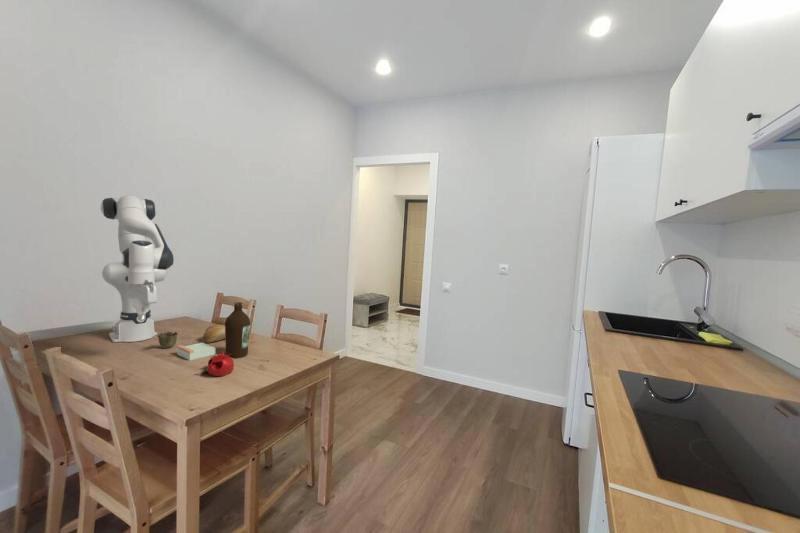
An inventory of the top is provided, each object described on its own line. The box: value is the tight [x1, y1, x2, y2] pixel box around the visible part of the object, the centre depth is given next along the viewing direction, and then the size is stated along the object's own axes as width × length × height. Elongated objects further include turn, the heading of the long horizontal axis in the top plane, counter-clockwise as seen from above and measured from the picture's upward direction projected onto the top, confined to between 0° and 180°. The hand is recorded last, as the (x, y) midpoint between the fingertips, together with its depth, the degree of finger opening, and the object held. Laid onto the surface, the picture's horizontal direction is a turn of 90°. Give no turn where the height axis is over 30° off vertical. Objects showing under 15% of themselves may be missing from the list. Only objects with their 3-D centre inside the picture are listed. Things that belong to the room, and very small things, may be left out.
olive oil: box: [224, 301, 251, 359], centre depth 157 cm, size 11×11×25 cm
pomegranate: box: [206, 350, 235, 377], centre depth 137 cm, size 10×10×9 cm
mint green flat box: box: [176, 341, 216, 361], centre depth 152 cm, size 11×11×4 cm
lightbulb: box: [132, 297, 146, 321], centre depth 144 cm, size 6×6×11 cm
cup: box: [157, 331, 178, 349], centre depth 158 cm, size 8×7×8 cm
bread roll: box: [202, 324, 225, 344], centre depth 176 cm, size 10×15×8 cm, turn 156°
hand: (141, 310), depth 145 cm, fingers closed on lightbulb, 5 cm apart
